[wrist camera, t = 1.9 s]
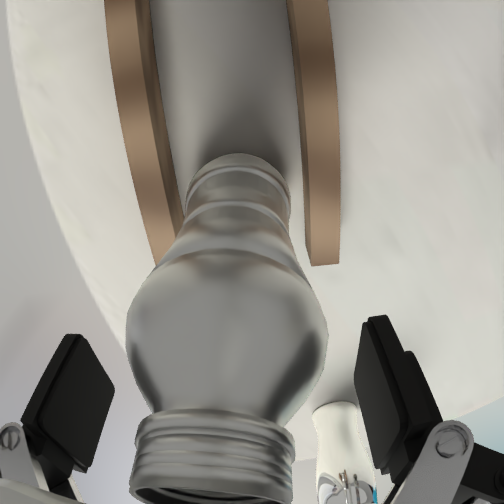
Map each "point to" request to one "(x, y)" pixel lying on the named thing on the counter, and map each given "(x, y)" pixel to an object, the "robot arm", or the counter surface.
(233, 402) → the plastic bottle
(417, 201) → the counter surface
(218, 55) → the counter surface
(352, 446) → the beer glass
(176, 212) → the guide track
